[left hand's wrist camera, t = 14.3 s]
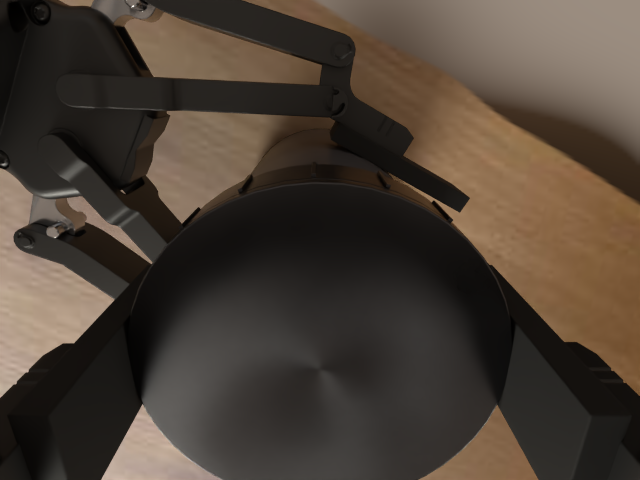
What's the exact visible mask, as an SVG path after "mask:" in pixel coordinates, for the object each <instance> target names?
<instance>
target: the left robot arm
mask: <svg viewBox="0 0 640 480" xmlns="http://www.w3.org/2000/svg"><path fill="white" fill-rule="evenodd" d="M150 266H151V265H147V266H146V267H145V268H144V269H143V271H142V272H141V273H140V274H139V275H138V276H137V277H136V278H135V279H134V280H133V281H132V282H131V283H130V284H129V285H128V287H127V288H126V289H125V290H124V291H123V292H122V293H121V294H120V295H119V296H118V297H117V298H116V299H115V300H114V301H113V303H112V304H111V305H110V306H109V307H108V308H107V309H106V310H105V311H104V312H103V313H102V314H101V315H100V316H99V317H98V319H97V320H96V321H95V322H94V323H93V324H92V325H91V326H90V327H89V328H88V329H87V330H86V331H85V332H84V333H83V335H82V336H81V337H80V338H79V339H78V340H77V341H76V342H75V343H66V344H61V345H60V346H58V347H56V348H55V349H53V350H52V351H50V352H48V353H47V354H45V355H43V356H42V357H41V358H40V359H39V360H38V361H37V362H36V363H35V364H34V365H33V366H32V367H31V368H30V369H29V372H28V373H25V374H24V375H23V376H22V377H21V378H20V379H19V380H18V381H17V384H16V385H13V386H12V387H11V388H10V389H9V390H8V391H7V392H6V393H5V394H4V395H3V396H2V397H1V398H0V480H101V479H102V477H103V475H104V473H105V471H106V470H107V468H108V466H109V464H110V462H111V460H112V459H113V457H114V455H115V453H116V451H117V450H118V448H119V446H120V444H121V442H122V440H123V439H124V437H125V435H126V433H127V431H128V429H129V428H130V426H131V424H132V422H133V420H134V419H135V417H136V415H137V413H138V411H139V409H140V408H141V406H142V404H143V403H142V401H141V399H140V397H139V395H138V393H137V389H136V386H135V383H134V379H133V375H132V370H131V365H130V359H129V354H128V328H129V322H130V316H131V310H132V307H133V304H134V301H135V298H136V295H137V292H138V289H139V286H140V285H141V283H142V281H143V277H144V276H145V275H146V273H147V271H148V269H149V267H150ZM490 266H491V267H492V269H493V273H494V275H495V276H496V278H497V280H498V282H499V285H500V287H501V290H502V292H503V294H504V297H505V299H506V303H507V307H508V311H509V315H510V320H511V330H512V352H511V358H510V363H509V368H508V373H507V378H506V383H505V387H504V390H503V392H502V395H501V397H500V399H499V402H498V404H497V405H498V407H499V408H500V410H501V412H502V414H503V416H504V418H505V419H506V421H507V423H508V425H509V427H510V428H511V430H512V432H513V434H514V436H515V438H516V439H517V441H518V443H519V445H520V447H521V448H522V450H523V452H524V454H525V456H526V458H527V459H528V461H529V463H530V465H531V467H532V468H533V470H534V472H535V474H536V476H537V478H538V479H539V480H640V396H639V395H638V394H637V393H636V392H635V391H634V390H633V389H632V388H631V387H630V386H629V385H628V384H627V383H623V380H622V379H621V378H620V377H619V376H618V375H617V374H616V373H615V372H614V371H611V368H610V367H609V366H608V365H607V364H606V363H605V362H604V361H603V360H602V359H601V358H600V357H599V356H598V355H597V354H596V353H594V352H592V351H591V350H589V349H587V348H586V347H584V346H582V345H581V344H579V343H577V342H564V341H563V340H562V339H561V338H560V337H559V336H558V335H557V334H556V333H555V332H554V331H553V330H552V329H551V328H550V326H549V325H548V324H547V323H546V322H545V321H544V320H543V319H542V318H541V317H540V316H539V315H538V314H537V313H536V312H535V310H534V309H533V308H532V307H531V306H530V305H529V304H528V303H527V302H526V301H525V300H524V299H523V298H522V297H521V296H520V294H519V293H518V292H517V291H516V290H515V289H514V288H513V287H512V286H511V285H510V284H509V283H508V282H507V281H506V280H505V278H504V277H503V276H502V275H501V274H500V273H499V272H498V271H497V270H496V269H495V268H494V267H493V266H492V265H490Z"/></svg>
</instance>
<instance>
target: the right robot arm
mask: <svg viewBox="0 0 640 480" xmlns="http://www.w3.org/2000/svg"><path fill="white" fill-rule="evenodd" d="M163 12H166V13H168V14H170V15H172V16H175V17H177V18H179V19H181V20H184V21H186V22H189V23H192V24H195V25H198V26H201V27H204V28H207V29H210V30H213V31H217V32H220V33H223V34H226V35H229V36H232V37H235V38H239V39H242V40H245V41H248V42H251V43H254V44H257V45H261V46H264V47H267V48H270V49H273V50H276V51H279V52H283V53H286V54H289V55H292V56H295V57H298V58H301V59H305V60H308V61H311V62H314V63H317V64H320V65H322V70H321V77H320V84H319V85H307V84H286V83H265V82H244V81H224V80H203V79H183V78H163V77H153V75H152V74H151V72H150V70H149V69H148V67H147V65H146V63H145V62H144V60H143V58H142V56H141V55H140V53H139V51H138V49H137V48H136V46H135V44H134V42H133V41H132V39H131V37H130V35H129V34H128V32H127V30H126V29H125V27H124V25H125V24H126V23H127V21H129V20H130V19H134V18H137V19H140V20H143V21H146V22H155V21H157V20H159V19H160V17H161V16H162V14H163ZM354 56H355V45H354V42H353V41H352V39H351V38H350V37H349V36H347V35H345V34H343V33H340V32H337V31H334V30H331V29H328V28H325V27H322V26H319V25H316V24H312V23H309V22H306V21H303V20H300V19H297V18H294V17H291V16H288V15H285V14H282V13H279V12H276V11H273V10H270V9H267V8H264V7H261V6H258V5H255V4H252V3H248V2H245V1H242V0H94V1H93V3H92V6H91V7H88V6H69V5H67V4H65V3H63V2H61V1H59V0H0V168H2V169H4V170H6V171H8V172H9V173H11V174H12V175H13V176H14V177H16V178H17V179H18V180H19V181H20V182H21V183H22V185H23V186H24V187H25V188H26V189H27V190H28V191H29V192H31V193H32V194H33V200H32V207H31V214H30V221H29V224H28V225H27V226H25V227H23V228H21V229H19V230H17V231H16V232H15V234H14V236H13V237H14V242H15V244H16V246H17V247H18V248H19V249H20V250H22V251H24V252H26V253H29V254H32V255H35V256H38V257H41V258H44V259H47V260H50V261H54V262H57V263H60V264H62V265H64V266H65V267H67V268H68V269H70V270H71V271H73V272H74V273H76V274H77V275H79V276H80V277H82V278H83V279H85V280H86V281H88V282H89V283H91V284H92V285H94V286H95V287H97V288H98V289H100V290H101V291H103V292H104V293H106V294H107V295H109V296H110V297H112V298H113V299H116V298H117V297H118V296H119V295H120V294H121V293H122V292H123V291H124V290H125V289H126V288H127V287H128V285H129V284H130V283H131V282H132V281H133V280H134V279H135V278H136V277H137V276H138V275H139V274H140V273H141V272H142V271H143V269H144V268H145V267H146V266H147V265H152V264H150V263H149V262H147V261H146V260H145V259H143V258H142V257H140V256H139V255H137V254H136V253H135V252H133V251H132V250H130V249H129V248H128V247H126V246H125V245H123V244H122V243H121V242H119V241H118V240H116V239H115V238H114V237H112V236H111V235H109V234H108V233H106V232H105V231H103V230H101V229H99V228H97V227H96V226H94V225H91V224H89V223H86V222H85V221H86V215H85V214H84V213H83V212H77V211H75V210H73V209H72V208H71V207H70V206H69V204H68V202H67V198H70V197H78V196H83V197H84V198H85V199H86V200H87V202H88V203H89V204H90V205H91V206H92V207H93V208H94V209H95V210H96V211H97V212H98V213H99V214H100V215H101V217H102V218H103V219H104V220H105V221H107V222H108V223H110V224H112V225H116V226H119V227H120V228H121V229H122V230H123V231H124V232H125V233H126V234H127V235H128V236H129V237H130V238H131V239H132V240H133V242H134V243H135V244H136V245H137V246H138V247H139V248H140V249H141V250H142V251H143V252H144V253H145V255H146V256H147V257H148V258H149V259H150V260H151V261H152V262H154V261H155V259H156V258H157V257H158V255H159V254H160V253H161V251H162V250H163V248H164V247H165V246H166V245H167V244H168V243H169V242H170V241H171V240H172V239H173V238H174V237H175V236H176V234H177V233H178V232H179V231H180V229H179V228H178V227H179V226H180V225H181V223H180V221H179V220H178V219H177V218H176V217H175V216H174V214H173V213H172V212H171V211H170V210H169V209H168V208H167V206H166V205H165V204H164V203H163V202H162V201H161V199H160V198H159V196H158V191H157V189H156V187H155V186H154V185H153V183H152V182H151V181H150V180H149V179H148V178H147V176H146V174H147V172H148V170H149V167H150V165H151V162H152V158H153V148H154V143H155V142H156V140H157V139H158V138H159V137H160V135H161V134H162V133H163V131H164V130H165V127H166V125H167V122H168V120H169V117H170V115H168V114H167V111H202V112H224V113H245V114H266V115H288V116H309V117H329V118H331V119H333V120H335V123H334V125H333V127H332V129H331V130H330V132H329V133H330V138H331V140H332V141H334V142H336V143H337V144H339V145H341V146H343V147H344V148H346V149H348V150H350V151H352V152H353V153H355V154H357V155H359V156H360V157H362V158H364V159H366V160H367V161H369V162H371V163H373V164H375V165H376V166H378V167H380V168H382V169H383V170H385V171H387V172H389V173H391V174H392V175H394V176H396V177H398V178H399V179H401V180H403V181H405V182H406V183H408V184H410V185H412V186H414V187H415V188H417V189H419V190H421V191H422V192H424V193H426V194H428V195H430V196H431V197H433V198H435V199H437V200H438V201H440V202H442V203H444V204H446V205H447V206H449V207H451V208H453V209H454V210H456V211H458V212H461V210H462V209H463V207H464V206H465V205H466V203H467V202H468V200H469V199H470V198H469V197H468V196H467V195H465V194H464V193H463V192H462V191H460V190H459V189H458V188H456V187H455V186H454V185H452V184H451V183H449V182H448V181H446V180H444V179H442V178H441V177H439V176H437V175H435V174H434V173H432V172H430V171H429V170H427V169H425V168H423V167H422V166H420V165H418V164H416V163H415V162H413V161H411V160H409V159H408V158H406V157H404V156H403V155H404V153H405V151H406V150H407V148H408V147H409V145H410V143H411V142H412V140H413V136H412V135H411V133H410V132H409V131H408V129H407V128H406V127H404V126H402V125H401V124H399V123H397V122H396V121H394V120H392V119H391V118H389V117H387V116H385V115H384V114H382V113H380V112H379V111H377V110H375V109H374V108H372V107H370V106H369V105H367V104H365V103H363V102H362V101H360V100H359V99H357V98H356V97H355V96H354V94H353V93H352V90H351V87H350V77H351V71H352V65H353V59H354ZM120 190H123V191H124V192H125V193H126V194H124V193H122V192H121V191H120Z"/></svg>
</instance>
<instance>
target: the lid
mask: <svg viewBox="0 0 640 480" xmlns="http://www.w3.org/2000/svg"><path fill="white" fill-rule="evenodd" d="M452 221H453V219H452V218H451V217H450V216H449V215H448V214H447V213H446V212H445V211H444V210H443V209H442V208H441V207H440V206H439V205H438V204H437V203H436V202H435V201H433V202H432V203H431V202H430V201H429V200H428V199H427V198H425V197H424V196H422V195H421V194H419V193H417V192H416V191H414V190H413V189H411V188H410V187H408V186H406V185H404V184H402V183H400V182H398V181H395V180H393V179H391V178H389V177H387V176H384V174H383V173H382V172H381V171H378V172H377V173H374V172H371V171H368V170H365V169H360V168H354V167H348V166H342V165H326V164H316V161H315V162H312V164H310V165H300V166H290V167H285V168H281V169H277V170H272V171H268V172H265V173H262V174H259V175H257V176H254V177H253V176H252V174H251V175H248V176H247V178H246V179H245V180H244V181H242V182H240V183H238V184H236V185H234V186H233V187H231V188H229V189H227V190H225V191H223V192H222V193H221V194H219V195H218V196H217V197H215V198H214V199H213V200H211V201H210V202H209V203H207V204H206V205H205V206H204V207H203V208H202V209H200V208H199V207H198V208H197V209H196V210H195V211H194V212H193V213H192V214H191V215H190V216H189V217H188V218H187V219H186V220H185V221H184V222H183V223H182V224H181V225H180V226H179V227H178V228H179V229H180V231H179V232H178V233H177V234H176V236H175V237H174V238H173V239H172V240H171V241H170V242H169V243H168V244H167V245H166V246H165V247H164V248H163V250H162V251H161V253H160V254H159V255H158V257H157V258H156V259H155V261H154V262H153V263H152V265H151V266H150V267H149V269H148V271H147V273H146V275H145V276H144V277H143V281H142V283H141V285H140V286H139V289H138V292H137V295H136V298H135V301H134V304H133V307H132V310H131V316H130V322H129V328H128V354H129V359H130V365H131V370H132V375H133V379H134V383H135V386H136V389H137V393H138V395H139V397H140V399H141V401H142V403H143V405H144V407H145V409H146V411H147V413H148V414H149V416H150V417H151V419H152V420H153V422H154V423H155V425H156V426H157V428H158V429H159V430H160V431H161V432H162V434H163V435H164V436H165V437H166V438H167V439H168V440H169V442H170V443H171V444H172V445H173V446H174V447H176V448H177V449H178V450H179V451H180V452H181V453H182V454H183V455H184V456H186V457H187V458H188V459H189V460H191V461H192V462H194V463H195V464H196V465H198V466H199V467H201V468H202V469H203V470H205V471H207V472H209V473H211V474H212V475H214V476H216V477H218V478H219V479H221V480H419V479H421V478H423V477H425V476H427V475H428V474H430V473H431V472H433V471H435V470H436V469H438V468H440V467H441V466H443V465H444V464H446V463H447V462H448V461H449V460H451V459H452V458H453V457H454V456H456V455H457V454H458V453H459V452H461V451H462V450H463V449H464V448H465V447H466V446H467V445H468V444H469V443H470V442H471V441H472V440H473V439H474V438H475V437H476V435H477V434H478V433H479V431H480V430H481V429H482V428H483V426H484V425H485V424H486V422H487V421H488V419H489V418H490V416H491V414H492V413H493V411H494V409H495V407H496V406H497V404H498V402H499V399H500V397H501V395H502V392H503V390H504V387H505V383H506V378H507V373H508V368H509V363H510V358H511V352H512V330H511V320H510V315H509V311H508V307H507V303H506V299H505V297H504V294H503V292H502V290H501V287H500V285H499V282H498V280H497V278H496V276H495V275H494V273H493V269H492V267H491V266H490V265H489V264H488V263H487V262H486V260H485V258H484V257H483V256H482V255H481V254H480V253H479V251H478V250H477V249H476V248H475V247H474V246H473V244H472V243H471V242H470V241H469V240H468V239H467V238H466V236H465V235H464V234H463V233H462V232H461V231H460V230H459V229H458V228H457V227H456V226H455V225H454V224H453V223H452Z"/></svg>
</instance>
